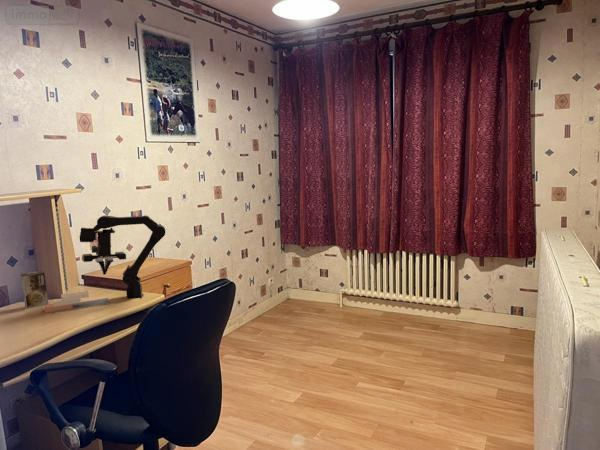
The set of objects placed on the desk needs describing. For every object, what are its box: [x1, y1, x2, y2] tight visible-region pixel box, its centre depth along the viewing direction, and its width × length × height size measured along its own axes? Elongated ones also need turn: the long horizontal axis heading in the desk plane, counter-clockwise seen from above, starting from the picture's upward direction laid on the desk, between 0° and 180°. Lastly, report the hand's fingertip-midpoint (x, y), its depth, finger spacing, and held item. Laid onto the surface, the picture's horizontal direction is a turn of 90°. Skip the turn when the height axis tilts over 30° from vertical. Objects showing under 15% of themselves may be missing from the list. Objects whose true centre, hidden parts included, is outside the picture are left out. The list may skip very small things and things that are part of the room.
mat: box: [51, 297, 111, 314], centre depth 207 cm, size 24×11×1 cm, turn 119°
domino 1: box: [44, 303, 73, 313], centre depth 202 cm, size 2×5×11 cm
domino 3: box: [61, 290, 90, 301], centre depth 205 cm, size 2×5×11 cm
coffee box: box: [20, 270, 50, 310], centre depth 208 cm, size 9×6×16 cm
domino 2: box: [52, 297, 82, 307], centre depth 204 cm, size 2×5×11 cm
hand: (104, 274), depth 213 cm, fingers closed
